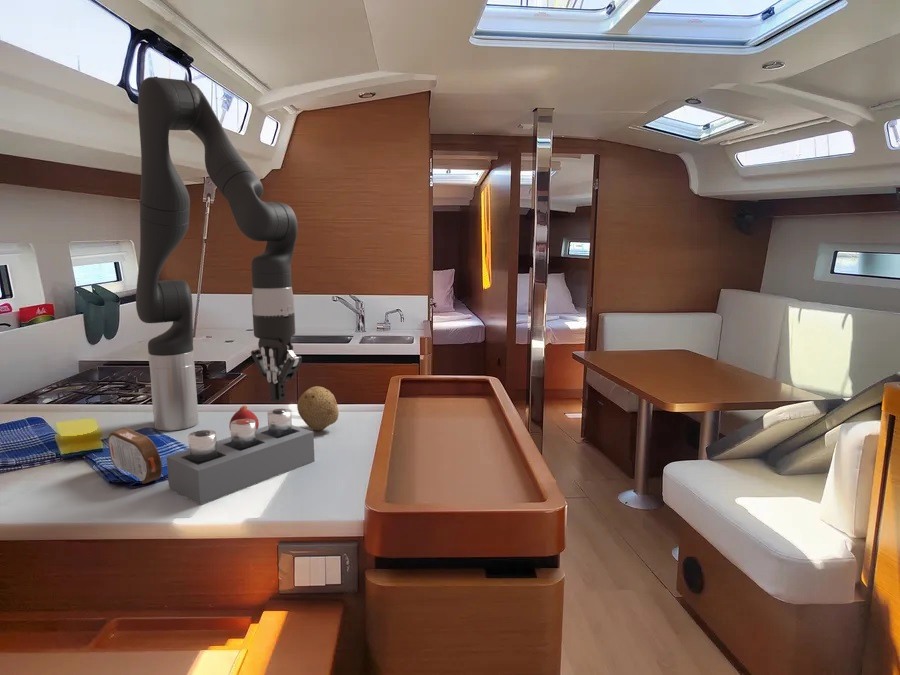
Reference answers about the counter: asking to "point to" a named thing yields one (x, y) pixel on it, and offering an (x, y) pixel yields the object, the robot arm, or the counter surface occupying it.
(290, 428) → the knob
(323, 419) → the brown oval lump
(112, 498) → the counter surface
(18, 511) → the counter surface
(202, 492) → the mount
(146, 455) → the tin
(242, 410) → the onion
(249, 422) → the knob mid
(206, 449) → the knob
